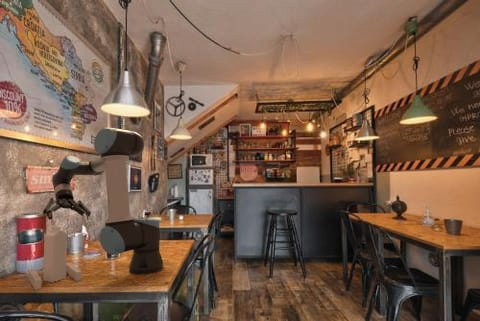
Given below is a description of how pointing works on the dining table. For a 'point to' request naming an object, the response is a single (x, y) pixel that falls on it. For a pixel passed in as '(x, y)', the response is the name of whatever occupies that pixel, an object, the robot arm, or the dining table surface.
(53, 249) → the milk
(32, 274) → the brown piece
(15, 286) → the dining table surface
